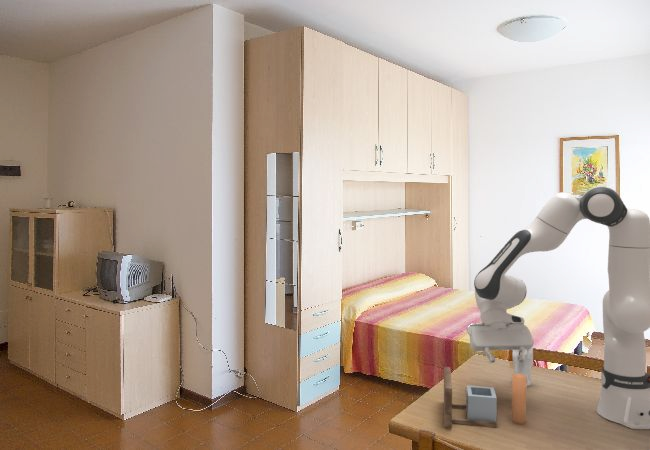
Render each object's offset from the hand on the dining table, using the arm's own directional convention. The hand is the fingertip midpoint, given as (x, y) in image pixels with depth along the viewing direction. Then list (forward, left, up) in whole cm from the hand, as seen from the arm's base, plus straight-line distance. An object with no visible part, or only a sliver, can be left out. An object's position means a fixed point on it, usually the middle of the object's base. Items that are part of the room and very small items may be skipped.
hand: (507, 361), depth 161 cm
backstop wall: (+12, +9, -15) cm, 21 cm away
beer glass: (-8, -22, -15) cm, 28 cm away
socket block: (+9, +9, -15) cm, 20 cm away
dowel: (-2, +9, -15) cm, 18 cm away
